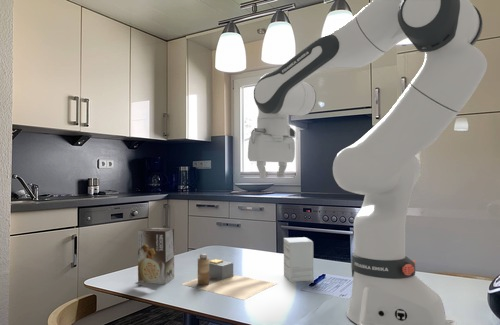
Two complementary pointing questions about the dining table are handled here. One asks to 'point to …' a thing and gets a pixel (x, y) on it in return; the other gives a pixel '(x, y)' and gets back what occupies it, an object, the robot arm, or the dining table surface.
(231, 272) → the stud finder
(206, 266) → the marker peg
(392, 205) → the robot arm
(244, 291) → the plywood board
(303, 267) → the supplement box
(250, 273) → the dining table surface
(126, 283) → the dining table surface
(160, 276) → the brown food box
